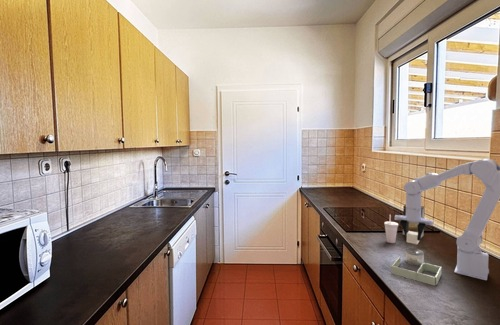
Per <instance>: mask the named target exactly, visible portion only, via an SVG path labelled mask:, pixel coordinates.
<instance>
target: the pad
mask: <svg viewBox="0 0 500 325" xmlns="http://www.w3.org/2000/svg"><path fill="white" fill-rule="evenodd" d="M422 274H426V275H429V276H433V277H435V276H436V274H437V273H434V272H430V271H426V270H424V271H423V272H422Z"/></svg>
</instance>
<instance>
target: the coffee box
mask: <svg viewBox="0 0 500 325" xmlns="http://www.w3.org/2000/svg"><path fill="white" fill-rule="evenodd" d="M402 209H403V213H402V216H406V204H404V205H403V208H402ZM421 218H424V219H425V206H423V205H421ZM418 224H419V223H414V222H409V229H408V230H409V231H412V232H417V233H418V227H417V225H418ZM424 231H425V229H424V230H423V232H422V235H421V239H422V238H423V237H424ZM402 235H403V236H405V233H404V230H403V229H402Z"/></svg>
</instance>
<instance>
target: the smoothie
mask: <svg viewBox="0 0 500 325" xmlns="http://www.w3.org/2000/svg"><path fill="white" fill-rule="evenodd" d="M391 218H392V215H391V214H389V221H384V224H383V225H384V230H385V235H386V242H387V243H389V244H395V243H396V239H397V234H398V227H399V223H398V222H395V221H392V219H391Z"/></svg>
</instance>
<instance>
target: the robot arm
mask: <svg viewBox="0 0 500 325" xmlns="http://www.w3.org/2000/svg"><path fill="white" fill-rule="evenodd" d="M461 175H467V176H471V175H474V176H475V177H476V178H477V179H478V180H480V181H481V182H482V183H483V185H484V186H485V188H484V192H483V193H482V196H481V198H480V200H479V202H478V204H477V206H476V207H475V208H476V209H474V210H475V211H474V212H473V215H472V216H471V219H470V220H469V223H468V225H467V226H466V228H465V230H464V231H463V233H462V234H461V235H460V236H458V237H457V238H456V242H455V243H456V246H457V249H456V250H457V253H456V254H457V255H456V266H455V268H454V273H455V274H458V275H463V276H468V277H471V278H475V279H479V280H483V281H488V276H489V274H490V269H489V253H487V252H484V251H482V249H481V247H480V246H481V244H483V240H484V239H483V234H484V232H485V229H486V226H487V225H488V222H489V220H490V218H491V216H492V214H493V212H494V211H495V209H496V207H497V205H498V203H499V200H500V165H499V164H498V163H497V162H496V161H495V160H494V159H491V158H482V159H477V160H476V161H475V160H474V161H471V162H466V163H461V164H459V165H457V166H454V167H452V168H450V169H446V170H445V171H443V172H440V173H435V172H431V173H430V172H426V173H425V175H422V176H420V177H414V180H409V181H408V182H407V181H406V183H404V185H403V186H404V187H403V189H404V191H405V205H406V216H403V215H400V214H399V215H398V214H395V215H394V221H400V227H402V231H403V230H404V233H405V235H404V236H405V238H406V239H407V233H408V232H409V230H408V229H409V222H414V223H419V224H418V225H417V227H418V240H419V241H421V239H422V238H421V235H422V232H423V230H424V231H425V228H426V226H427V225H428V226H430V227H431V226H434V219H427V218H425V217H424V218H421V206H422V192H425V191H428V190H430V189H434V188H437V187H439V186H441V184H442V182H443V181H446V180H450V179H451V178H452V179H453V178H455V177H458V176H461Z"/></svg>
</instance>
